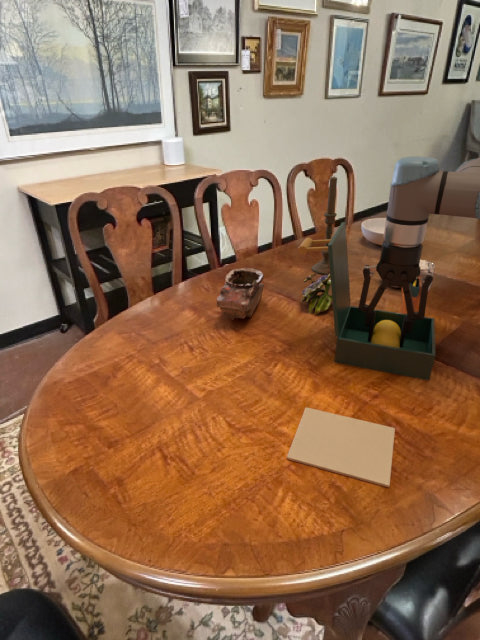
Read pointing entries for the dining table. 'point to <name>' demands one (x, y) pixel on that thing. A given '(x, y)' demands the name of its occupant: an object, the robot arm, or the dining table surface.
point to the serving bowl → (374, 230)
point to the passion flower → (314, 289)
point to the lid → (335, 272)
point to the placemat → (344, 446)
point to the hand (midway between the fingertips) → (385, 341)
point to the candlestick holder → (328, 228)
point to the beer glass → (417, 287)
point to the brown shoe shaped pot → (241, 292)
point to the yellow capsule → (386, 334)
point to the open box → (401, 361)
